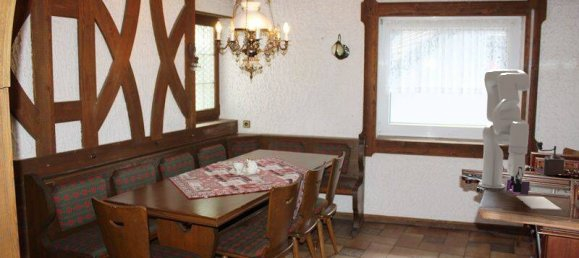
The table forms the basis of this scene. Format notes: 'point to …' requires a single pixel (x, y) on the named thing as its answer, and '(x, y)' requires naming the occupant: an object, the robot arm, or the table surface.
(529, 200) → the mat
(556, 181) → the table surface
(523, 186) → the purple block
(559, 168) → the pepper mill
